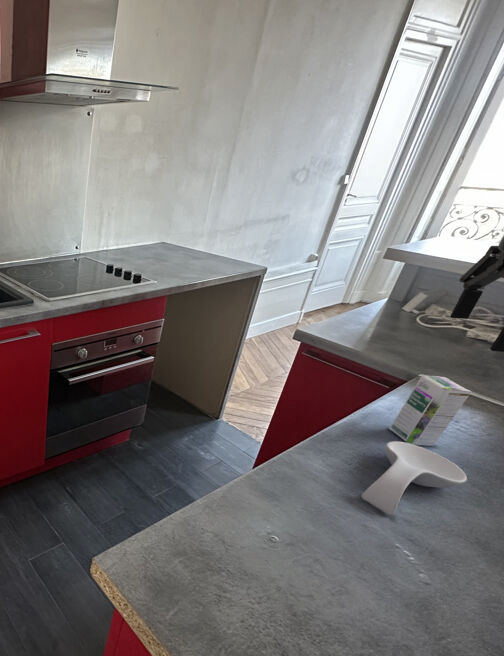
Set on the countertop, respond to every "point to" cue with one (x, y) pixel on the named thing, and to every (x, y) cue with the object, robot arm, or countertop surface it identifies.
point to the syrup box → (429, 410)
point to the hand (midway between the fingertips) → (477, 333)
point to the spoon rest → (411, 474)
